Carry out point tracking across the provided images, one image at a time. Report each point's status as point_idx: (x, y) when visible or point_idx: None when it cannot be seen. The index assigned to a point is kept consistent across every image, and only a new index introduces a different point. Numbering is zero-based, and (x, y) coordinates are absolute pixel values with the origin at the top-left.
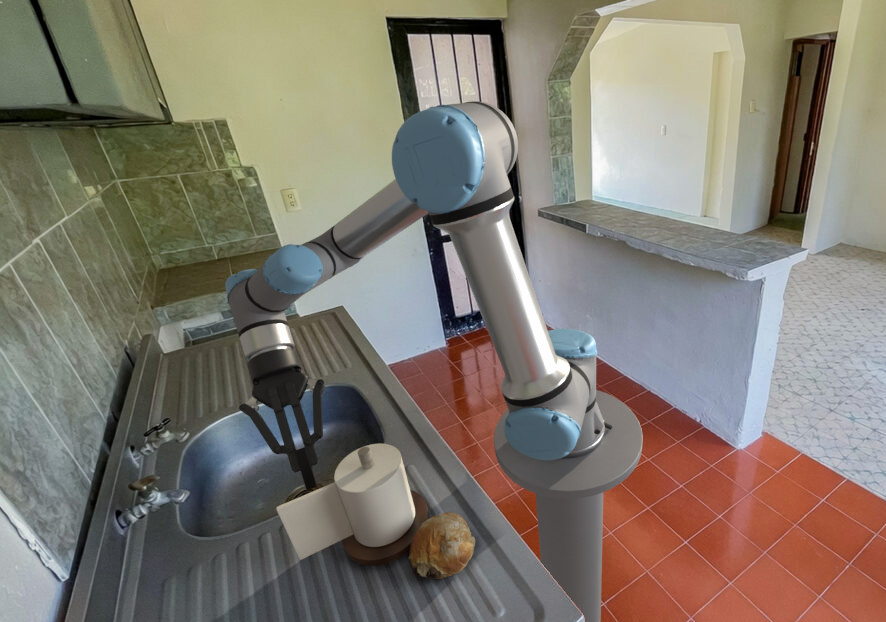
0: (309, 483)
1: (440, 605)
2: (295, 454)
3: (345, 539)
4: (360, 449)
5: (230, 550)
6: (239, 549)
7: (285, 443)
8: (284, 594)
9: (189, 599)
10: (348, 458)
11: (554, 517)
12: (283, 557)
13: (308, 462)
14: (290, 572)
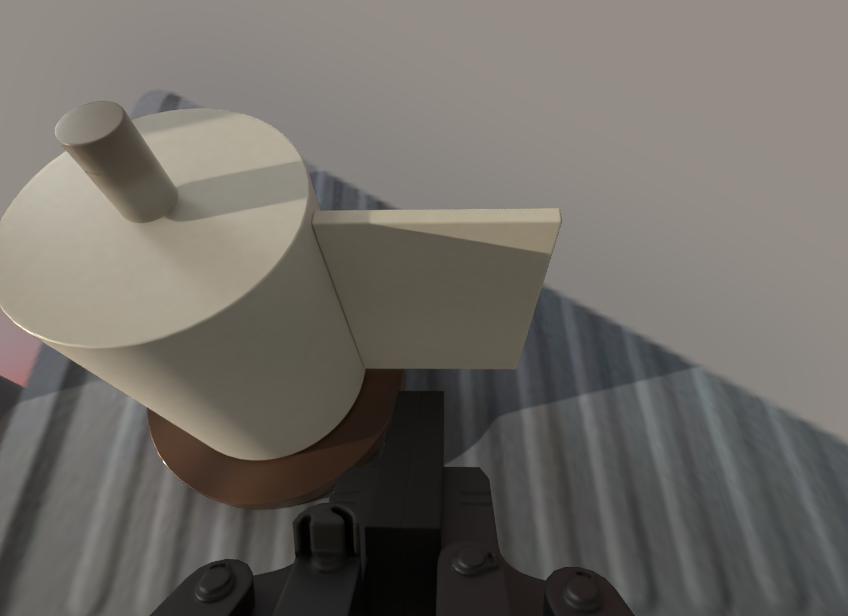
0: (422, 398)
1: None
2: (445, 536)
3: (391, 371)
4: (93, 136)
5: (751, 602)
6: (718, 585)
7: (496, 612)
8: (559, 335)
9: (821, 466)
10: (193, 305)
11: (15, 404)
12: (566, 452)
13: (387, 453)
14: (545, 389)
